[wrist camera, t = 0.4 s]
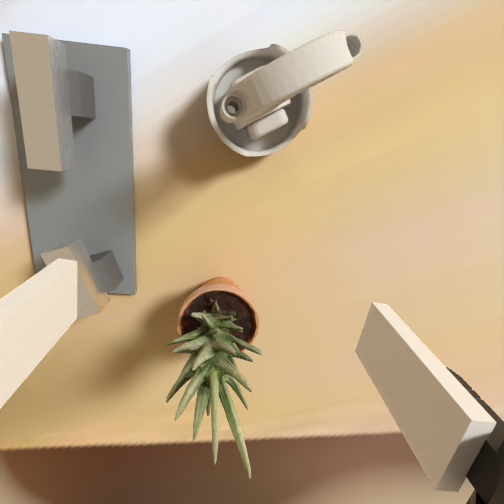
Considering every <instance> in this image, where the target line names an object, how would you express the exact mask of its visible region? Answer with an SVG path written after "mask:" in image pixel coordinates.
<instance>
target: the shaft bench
mask: <svg viewBox="0 0 504 504" xmlns="http://www.w3.org/2000/svg"><path fill="white" fill-rule="evenodd" d="M2 39H3V46H4V53H5V60H6V67H7V74H8V81H9V88H10V95H11V103H12V110H13V117H14V124H15V131H16V138H17V145H18V152H19V159H20V166H21V173H22V180H23V188H24V195H25V202H26V209H27V216H28V223H29V230H30V237H31V244H32V251H33V258H34V266H35V273H36V274H37V273H38V272H39V271H41V270H42V269H44V268H45V267H46V264H45V263H44V261H43V259H42V257H41V255H40V254H41V253H43V252H44V251H46V250H48V249H49V248H51V247H53V246H54V245H56V244H60V243H64V242H67V241H71V240H75V239H78V238H81V239H82V241H83V243H84V245H85V248H86V250H87V252H88V254H89V256H90V258H91V260H92V262H93V264H94V267H95V269H96V271H97V273H98V275H99V277H100V279H101V281H102V284H103V286H104V288H105V290H106V292H107V293H115V294H134V295H135V293H136V292H137V282H136V247H135V212H134V176H133V141H132V106H131V71H130V50H129V49H127V48H122V47H113V46H105V45H97V44H88V43H80V42H71V41H63V40H57V41H59V42H61V43H63V44H64V45H65V49H66V60H67V72H68V84H69V95H70V107H71V119H72V130H73V142H74V153H75V165H76V168H75V169H70V170H65V171H52V170H40V169H28V167H27V160H26V153H25V145H24V138H23V130H22V123H21V115H20V108H19V100H18V93H17V86H16V78H15V71H14V63H13V56H12V48H11V41H10V34H4V33H2Z"/></svg>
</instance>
